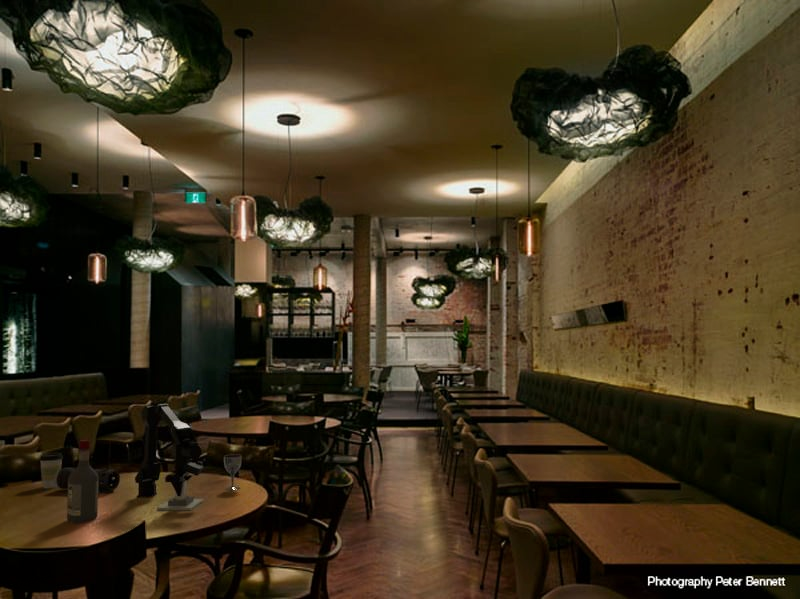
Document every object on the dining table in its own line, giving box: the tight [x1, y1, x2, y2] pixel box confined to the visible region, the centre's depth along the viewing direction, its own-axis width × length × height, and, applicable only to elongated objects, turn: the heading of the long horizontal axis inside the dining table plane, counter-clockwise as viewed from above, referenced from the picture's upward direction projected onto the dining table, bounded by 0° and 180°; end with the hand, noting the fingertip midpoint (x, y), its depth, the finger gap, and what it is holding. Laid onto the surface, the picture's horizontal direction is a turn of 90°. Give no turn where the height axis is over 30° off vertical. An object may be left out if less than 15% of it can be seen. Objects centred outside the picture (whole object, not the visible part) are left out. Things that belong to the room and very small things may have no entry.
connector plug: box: [174, 480, 188, 500], centre depth 256 cm, size 4×4×8 cm
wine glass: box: [223, 453, 243, 492], centre depth 286 cm, size 8×8×15 cm
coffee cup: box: [39, 452, 64, 489], centre depth 292 cm, size 10×10×15 cm
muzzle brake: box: [54, 467, 121, 493], centre depth 283 cm, size 10×28×10 cm, turn 78°
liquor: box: [66, 439, 99, 524], centre depth 237 cm, size 9×9×30 cm
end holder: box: [156, 495, 205, 511], centre depth 256 cm, size 14×14×3 cm
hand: (181, 495), depth 256 cm, fingers closed on connector plug, 3 cm apart
